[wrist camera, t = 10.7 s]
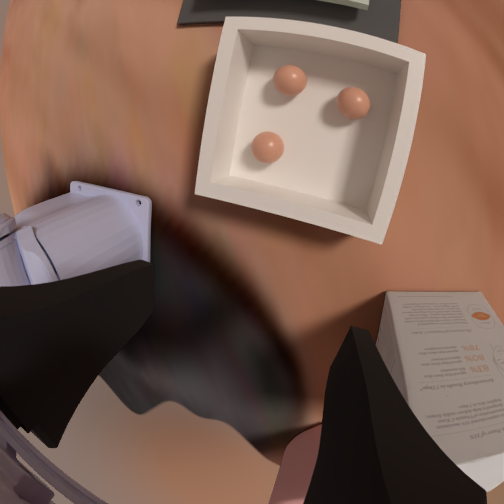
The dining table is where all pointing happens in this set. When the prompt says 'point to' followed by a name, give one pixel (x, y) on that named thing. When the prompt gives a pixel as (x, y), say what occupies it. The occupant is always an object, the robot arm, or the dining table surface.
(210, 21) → the mat
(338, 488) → the robot arm
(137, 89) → the dining table surface
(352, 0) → the lid
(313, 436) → the cake
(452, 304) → the small box
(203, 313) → the dining table surface
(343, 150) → the shallow white tray
